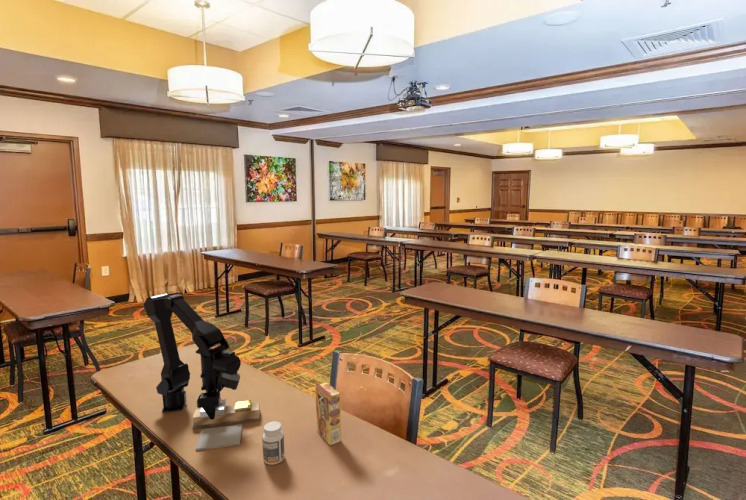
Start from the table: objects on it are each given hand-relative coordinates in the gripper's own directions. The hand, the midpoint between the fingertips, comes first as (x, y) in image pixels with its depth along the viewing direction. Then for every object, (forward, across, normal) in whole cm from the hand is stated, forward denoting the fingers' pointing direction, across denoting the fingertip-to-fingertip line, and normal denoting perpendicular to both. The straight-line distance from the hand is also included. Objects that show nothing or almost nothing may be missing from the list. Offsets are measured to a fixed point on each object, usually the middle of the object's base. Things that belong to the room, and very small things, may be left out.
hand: (214, 413), depth 133 cm
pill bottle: (+3, -24, -19) cm, 31 cm away
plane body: (+3, 0, -4) cm, 5 cm away
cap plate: (-1, 0, 0) cm, 1 cm away
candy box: (+3, -17, -35) cm, 39 cm away
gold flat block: (-2, 0, -11) cm, 11 cm away
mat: (+3, -10, -3) cm, 11 cm away
